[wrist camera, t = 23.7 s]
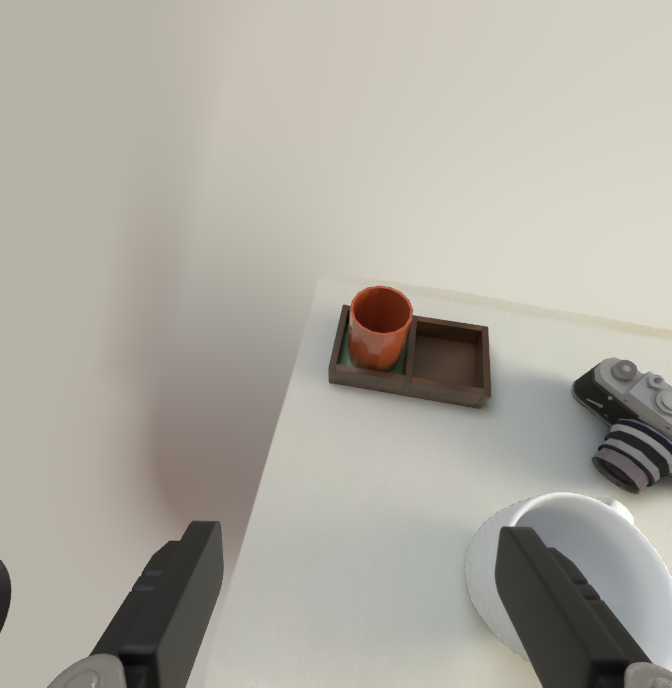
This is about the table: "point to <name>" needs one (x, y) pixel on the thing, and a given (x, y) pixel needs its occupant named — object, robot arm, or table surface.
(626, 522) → the mug
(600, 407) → the camera
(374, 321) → the cup
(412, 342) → the holder
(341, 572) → the table surface
